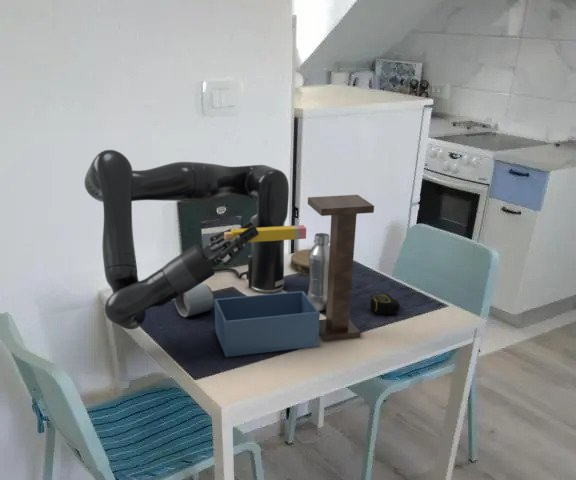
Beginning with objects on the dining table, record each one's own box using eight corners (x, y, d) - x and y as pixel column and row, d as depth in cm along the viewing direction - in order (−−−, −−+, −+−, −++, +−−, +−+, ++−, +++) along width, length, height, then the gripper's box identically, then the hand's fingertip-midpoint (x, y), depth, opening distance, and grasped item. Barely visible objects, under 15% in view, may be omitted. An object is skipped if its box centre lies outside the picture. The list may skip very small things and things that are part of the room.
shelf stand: (315, 343, 147) (321, 208, 131) (303, 326, 155) (307, 197, 139) (362, 338, 150) (374, 205, 134) (348, 321, 158) (357, 194, 142)
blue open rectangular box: (225, 357, 141) (224, 322, 136) (215, 332, 151) (214, 299, 147) (318, 346, 146) (319, 312, 141) (302, 323, 157) (303, 290, 152)
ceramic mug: (217, 313, 161) (215, 285, 157) (190, 321, 156) (187, 292, 153) (195, 301, 168) (193, 274, 164) (168, 308, 164) (166, 281, 160)
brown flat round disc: (348, 262, 196) (348, 253, 195) (333, 278, 184) (333, 269, 182) (301, 255, 201) (301, 246, 200) (283, 271, 188) (283, 261, 187)
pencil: (226, 243, 133) (225, 232, 132) (224, 240, 135) (223, 229, 134) (306, 238, 137) (306, 228, 136) (302, 235, 139) (303, 225, 138)
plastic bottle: (324, 315, 161) (327, 240, 151) (301, 309, 164) (304, 236, 154) (335, 307, 166) (340, 234, 155) (313, 301, 169) (316, 229, 158)
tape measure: (400, 315, 162) (401, 301, 160) (376, 317, 160) (377, 304, 158) (388, 305, 168) (390, 292, 166) (365, 307, 166) (366, 294, 164)
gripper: (182, 267, 127) (253, 221, 126) (174, 246, 138) (239, 204, 138) (202, 295, 131) (271, 251, 130) (193, 272, 143) (256, 232, 142)
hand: (254, 227), depth 134 cm, fingers closed on pencil, 2 cm apart
